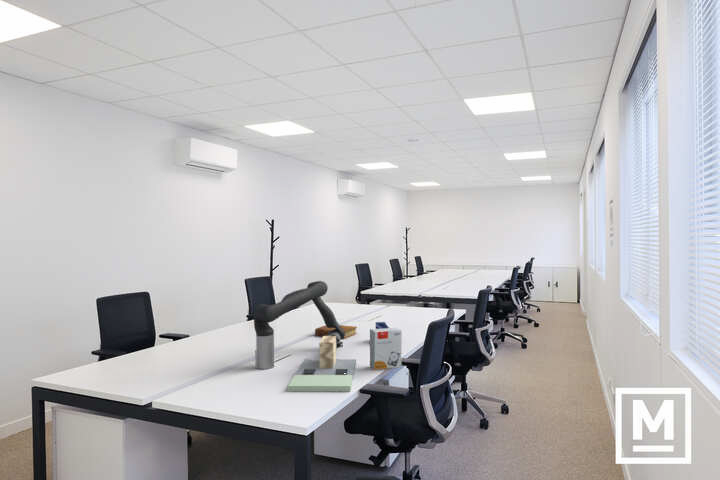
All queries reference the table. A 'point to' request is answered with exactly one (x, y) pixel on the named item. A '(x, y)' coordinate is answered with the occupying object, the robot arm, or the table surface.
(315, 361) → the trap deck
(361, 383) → the table surface
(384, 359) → the hard drive box
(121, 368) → the table surface
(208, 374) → the table surface
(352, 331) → the diary
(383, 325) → the phone stand
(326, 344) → the maple block
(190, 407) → the table surface
